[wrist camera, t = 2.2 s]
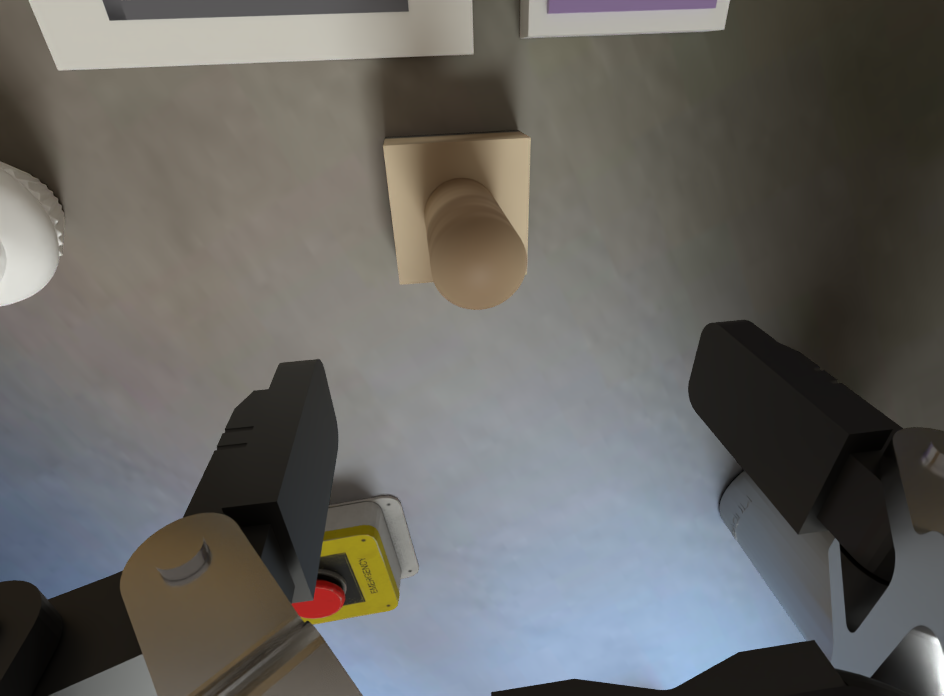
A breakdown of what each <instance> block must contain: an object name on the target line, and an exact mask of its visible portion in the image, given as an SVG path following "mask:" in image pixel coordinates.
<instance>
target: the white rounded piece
mask: <svg viewBox="0 0 944 696" xmlns="http://www.w3.org/2000/svg"><path fill="white" fill-rule="evenodd" d="M61 209H62V205H60V204H59V203H58V198H57V197H55V196H54V195H53V191H51V190H49V189H48V188H47V185H45V184H42V183H41V182H40V180H39V179H38V178H35V177H32V176H31V174H29V173H27V172H24V171H22V170H19V169H17V168H15V167H13V166H10V165H8V164H5V163H3V162H1V161H0V306H4V305H9V304H12V303H16V302H19V301H22V300H24V299H26V298H28V297H30V296H32V295H34V294H36V293H37V292H38V291H40V290H41V289H42V288H43V287H45V285H46V284H47V283H48V282H49V281H50V280H51V278H52V277H53V275H54V273H55V271H56V268H57V266H58V265H59V257H60V256H62V254H63V243H64V226H65V217H64V212H63V211H62V210H61Z"/></svg>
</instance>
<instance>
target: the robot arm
mask: <svg viewBox="0 0 944 696" xmlns="http://www.w3.org/2000/svg"><path fill="white" fill-rule="evenodd" d="M688 392H689V398H690V402H691V404H692V407H693V409H694V410H695V412H696V413H697V414H698V415H699V416H700V418H701V419H702V420H703V421H704V422H705V424H706V425H707V426H708V427H709V428H710V430H711V431H712V432H713V433H714V434H715V436H716V437H717V438H718V439H719V440H720V442H721V443H722V444H723V445H724V446H725V448H726V449H727V450H728V451H729V452H730V454H731V455H732V456H733V457H734V458H735V460H736V461H737V462H738V463H739V464H740V466H741V467H742V468H743V469H744V470H745V471H743V472H742V473H741V474H740V475H739V476H738V477H737V478H736V479H735V480H734V481H732V483H731V484H730V485H729V487H728V488H727V489H726V491H725V492H724V495H723V497H722V499H721V502H720V507H719V510H720V516H721V518H722V520H723V522H724V523H725V525H726V526H727V528H728V529H729V530H730V532H731V533H732V535H733V537H734V538H735V539H736V541H737V542H738V543H739V545H740V546H741V548H742V549H743V551H744V552H745V554H746V555H747V556H748V558H749V559H750V561H751V562H752V564H753V565H754V567H755V568H756V570H757V571H758V573H759V574H760V576H761V577H762V578H763V580H764V581H765V583H766V584H767V586H768V587H769V589H770V590H771V591H772V593H773V594H774V596H775V597H776V599H777V600H778V601H779V603H780V604H781V606H782V607H783V609H784V610H785V612H786V613H787V614H788V616H789V617H790V619H791V620H792V622H793V623H794V625H795V626H796V627H797V629H798V630H799V632H800V633H801V635H802V636H803V638H804V639H805V640H806V641H805V642H799V643H792V644H786V645H780V646H774V647H768V648H762V649H755V650H749V651H743V652H738V653H736V654H735V655H733V656H731V657H729V658H728V659H726V660H724V661H722V662H720V663H719V664H717V665H715V666H713V667H711V668H710V669H708V670H706V671H704V672H703V673H701V674H699V675H697V676H695V677H694V678H692V679H690V680H688V681H687V682H685V683H683V684H681V685H679V686H678V687H675V688H673V689H670V690H655V689H648V688H640V687H632V686H625V685H617V684H610V683H602V682H595V681H587V680H579V679H570V680H564V681H558V682H552V683H546V684H540V685H534V686H527V687H521V688H515V689H509V690H503V691H497V692H491V696H944V431H941V430H936V429H931V428H923V427H911V428H905V429H903V428H902V427H900V426H899V425H898V424H896V423H895V422H894V421H892V420H891V419H889V418H888V417H887V416H885V415H884V414H883V413H881V412H880V411H879V410H877V409H876V408H875V407H873V406H872V405H870V404H869V403H868V402H866V401H865V400H864V399H862V398H861V397H860V396H858V395H857V394H856V393H854V392H853V391H852V390H850V389H849V388H847V387H846V386H845V385H843V384H842V383H839V384H838V383H837V379H835V378H834V377H833V376H831V375H830V374H828V373H827V372H826V371H824V370H822V371H821V370H820V367H819V366H818V365H816V364H815V363H814V362H812V361H811V360H810V359H808V358H807V357H805V356H804V355H803V354H801V353H800V352H798V351H796V350H794V349H791V348H789V347H787V346H785V345H783V344H780V343H778V342H777V341H776V340H774V339H773V338H772V337H770V336H769V335H768V334H766V333H765V332H764V331H762V330H761V329H760V328H758V327H757V326H756V325H754V324H753V323H752V322H750V321H748V320H737V321H726V322H716V323H709V324H707V325H706V326H705V327H704V329H703V331H702V333H701V337H700V341H699V345H698V349H697V352H696V356H695V360H694V364H693V368H692V372H691V376H690V380H689V386H688ZM337 451H338V427H337V421H336V416H335V412H334V408H333V404H332V399H331V395H330V391H329V387H328V383H327V378H326V374H325V370H324V367H323V364H322V362H321V360H320V359H316V360H305V361H295V362H284V363H280V364H279V365H278V367H277V370H276V372H275V375H274V377H273V380H272V382H271V385H270V387H269V389H267V390H257V391H253V392H252V393H251V394H250V395H249V396H248V397H247V398H246V399H245V400H244V401H243V402H241V403H240V404H239V405H238V406H237V407H236V408H235V409H234V411H233V413H232V415H231V417H230V420H229V422H228V424H227V426H226V428H225V433H223V434H222V436H221V439H220V441H219V443H218V445H217V450H216V451H214V453H213V455H212V457H211V460H210V462H209V464H208V466H207V468H206V470H205V472H204V474H203V476H202V479H201V481H200V483H199V485H198V487H197V489H196V491H195V493H194V495H193V497H192V500H191V502H190V504H189V506H188V508H187V510H186V512H185V514H184V516H183V518H181V519H179V520H176V521H174V522H172V523H170V524H168V525H166V526H165V527H163V528H162V529H160V530H158V531H157V532H156V533H154V534H153V535H152V536H150V537H149V538H148V539H147V540H146V541H144V542H143V543H142V544H141V545H140V546H139V547H138V549H137V550H136V551H135V552H134V553H133V554H132V556H131V557H130V559H129V560H128V562H127V564H126V566H125V568H124V570H123V571H121V572H118V573H116V574H114V575H111V576H109V577H106V578H104V579H101V580H98V581H96V582H93V583H90V584H88V585H85V586H83V587H80V588H77V589H75V590H72V591H69V592H67V593H64V594H61V595H59V596H56V597H54V598H51V599H48V600H47V599H46V597H45V596H44V595H43V594H42V593H41V592H40V591H39V589H38V588H37V587H36V586H34V585H33V584H31V583H29V582H25V581H15V580H13V581H4V582H0V696H363V695H362V694H361V692H360V691H359V690H358V688H357V687H356V685H355V684H354V682H353V681H352V679H351V678H350V676H349V675H348V674H347V672H346V671H345V669H344V668H343V666H342V665H341V663H340V662H339V661H338V659H337V658H336V656H335V655H334V653H333V652H332V650H331V649H330V647H329V646H328V645H327V643H326V642H325V640H324V639H323V637H322V636H321V635H320V633H319V632H318V631H317V629H316V628H315V627H314V626H313V625H312V624H311V623H310V622H309V621H306V622H304V621H303V620H302V619H301V617H300V616H299V615H298V613H297V612H296V610H295V609H294V607H293V606H292V603H299V602H306V601H313V600H314V593H315V587H316V581H317V575H318V569H319V562H320V556H321V550H322V544H323V538H324V532H325V525H326V519H327V513H328V507H329V501H330V495H331V488H332V482H333V476H334V470H335V464H336V458H337Z"/></svg>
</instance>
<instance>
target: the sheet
mask: <svg viewBox="0 0 944 696" xmlns="http://www.w3.org/2000/svg"><path fill="white" fill-rule="evenodd" d="M29 3H30V5H31V7H32V10H33V12H34V14H35V17H36V19H37V22H38V24H39V26H40V29H41V31H42V33H43V36H44V38H45V41H46V43H47V45H48V48H49V50H50V52H51V55H52V57H53V59H54V62H55V64H56V67H57V69H58V70H85V69H110V68H136V67H162V66H188V65H213V64H239V63H265V62H291V61H316V60H342V59H368V58H394V57H419V56H445V55H471V54H474V48H473V11H472V0H29Z"/></svg>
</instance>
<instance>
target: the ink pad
mask: <svg viewBox="0 0 944 696" xmlns="http://www.w3.org/2000/svg"><path fill="white" fill-rule="evenodd" d="M729 2H730V0H520V38H546V37H573V36H601V35H628V34H656V33H684V32H706V31H715V30H724V27H725V22H726V17H727V12H728V7H729Z"/></svg>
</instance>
